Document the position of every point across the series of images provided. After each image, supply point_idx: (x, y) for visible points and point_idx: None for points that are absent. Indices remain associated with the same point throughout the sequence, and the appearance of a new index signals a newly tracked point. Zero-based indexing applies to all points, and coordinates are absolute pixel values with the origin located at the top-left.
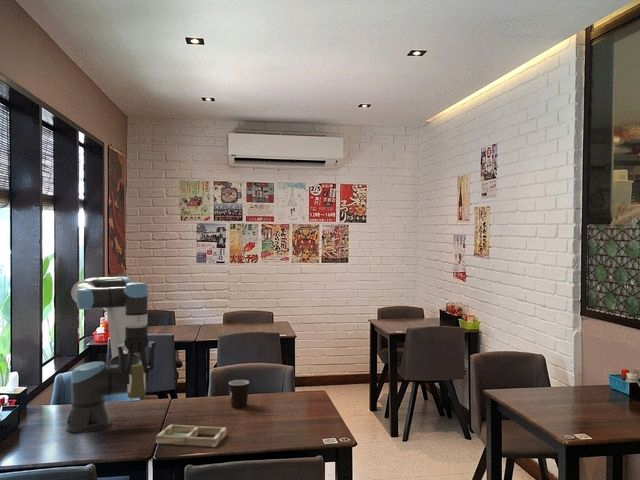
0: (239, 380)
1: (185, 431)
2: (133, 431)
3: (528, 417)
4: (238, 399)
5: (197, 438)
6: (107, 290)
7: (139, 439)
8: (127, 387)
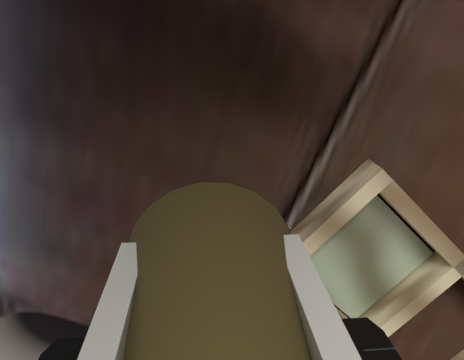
0: None
1: (411, 226)
2: (214, 50)
3: None
4: None
5: None
6: None
7: (210, 181)
8: (110, 272)
